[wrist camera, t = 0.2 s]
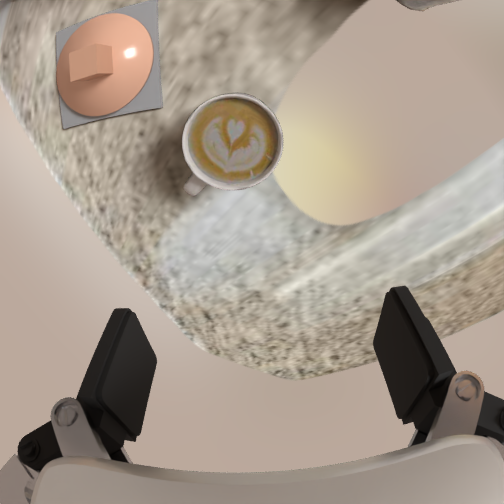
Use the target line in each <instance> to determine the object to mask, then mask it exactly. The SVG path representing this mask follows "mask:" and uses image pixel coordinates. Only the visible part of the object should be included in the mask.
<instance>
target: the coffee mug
mask: <svg viewBox="0 0 504 504" xmlns="http://www.w3.org/2000/svg"><path fill="white" fill-rule="evenodd" d="M182 149H183V154H184V157H185V160H186V162H187V164H188V166H189V168H190V169H191V170H192V172H193V173H192V174H191V176H190V177H189V178H188V180H187V181H186V183H185V184H184V190H185V191H186V192H187V193H188V194H189V195H192V196H195V195H197V194H198V193H199V192H200V191H201V190H202V189H203V188H204V187H205V186H206V184H208V185H210V186H213V187H215V188H218V189H223V190H242V189H246V188H250V187H253V186H255V185H257V184H259V183H260V182H262V181H263V180H265V179H266V178H267V177H268V176H269V175H270V174H271V173H272V172H273V170H274V169H275V168H276V166H277V164H278V162H279V160H280V158H281V155H282V150H283V133H282V129H281V126H280V123H279V121H278V120H277V117H276V116H275V114H274V113H273V112H272V111H271V110H270V109H269V108H268V107H267V106H266V105H265V104H264V103H263V102H262V101H261V100H259V99H258V98H256V97H254V96H252V95H249V94H245V93H228V94H223V95H219V96H216V97H213V98H211V99H209V100H207V101H205V102H204V103H202V104H201V105H200V106H198V107H197V108H196V109H195V110H194V112H193V113H192V114H191V115H190V117H189V119H188V120H187V122H186V125H185V127H184V130H183V136H182Z"/></svg>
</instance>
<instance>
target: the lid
mask: <svg viewBox="0 0 504 504" xmlns="http://www.w3.org/2000/svg"><path fill="white" fill-rule="evenodd" d="M153 61H154V47H153V42H152V38H151V36H150V34H149V32H148V30H147V29H146V28H145V26H144V25H143V24H142V23H140V22H139V21H138V20H136V19H134V18H132V17H130V16H128V15H124V14H119V13H110V14H104V15H100V16H97V17H95V18H93V19H91V20H89V21H87V22H86V23H84V24H83V25H81V26H80V27H79V28H78V29H77V30H76V31H75V32H74V33H73V34H72V35H71V36H70V38H69V39H68V40H67V42H66V44H65V45H64V47H63V49H62V51H61V54H60V57H59V60H58V64H57V72H56V79H57V86H58V89H59V92H60V95H61V97H62V98H63V100H64V101H65V103H66V104H67V105H68V106H69V107H70V108H71V109H73V110H74V111H76V112H78V113H80V114H83V115H86V116H101V115H106V114H109V113H113V112H115V111H117V110H120V109H121V108H123V107H125V106H126V105H127V104H129V103H130V102H131V101H132V100H133V99H134V98H135V97H136V96H137V95H138V94H139V93H140V92H141V90H142V89H143V87H144V86H145V84H146V82H147V80H148V78H149V76H150V73H151V70H152V66H153Z"/></svg>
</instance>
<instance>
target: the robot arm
mask: <svg viewBox="0 0 504 504" xmlns="http://www.w3.org/2000/svg"><path fill="white" fill-rule="evenodd" d="M373 346H374V350H375V352H376V355H377V358H378V361H379V363H380V366H381V369H382V372H383V375H384V378H385V381H386V384H387V387H388V390H389V392H390V396H391V398H392V402H393V405H394V408H395V411H396V415H397V417H398V418H399V419H402V421H403V424H408V423H411V422H414V425H415V428H416V430H415V432H414V434H413V437H412V439H411V441H410V443H409V445H408V447H407V448H404V449H401V450H397V451H393V452H390V453H386V454H382V455H377V456H374V457H369V458H365V459H360V460H356V461H351V462H346V463H340V464H335V465H329V466H322V467H316V468H308V469H298V470H289V471H277V472H258V473H257V472H256V473H215V472H197V471H183V470H174V469H165V468H158V467H151V466H144V465H137V464H133V463H132V461H131V460H130V458H129V456H128V454H127V452H126V451H125V449H124V447H123V445H124V440H128V441H134V442H135V441H136V437H137V436H139V435H140V433H141V430H142V425H143V420H144V416H145V411H146V407H147V402H148V398H149V393H150V389H151V385H152V381H153V377H154V372H155V369H156V364H157V358H156V355H155V353H154V351H153V349H152V347H151V345H150V343H149V341H148V339H147V337H146V335H145V333H144V331H143V329H142V327H141V325H140V322H139V320H138V318H137V316H136V314H135V313H134V312H132V311H131V310H130V309H129V308H118V309H114V311H113V313H112V315H111V317H110V319H109V321H108V323H107V325H106V328H105V330H104V332H103V334H102V337H101V339H100V341H99V343H98V346H97V348H96V350H95V352H94V355H93V357H92V360H91V362H90V364H89V367H88V369H87V372H86V374H85V377H84V379H83V382H82V385H81V387H80V390H79V392H78V395H77V398H76V399H74V398H71V397H70V398H69V397H68V398H63V399H61V400H60V401H58V402H57V403H56V404H55V405H54V407H53V409H52V411H51V421H49V422H47V423H46V424H44V425H42V426H41V427H39V428H37V429H36V430H34V431H32V432H31V433H29V434H27V435H26V436H24V437H23V438H22V439H21V441H20V442H19V445H18V455H16V454H14V455H13V456H12V457H11V458H10V460H9V461H8V462H7V463H6V464H5V465H4V466H3V468H2V469H1V470H0V503H1V504H504V400H503V399H501V398H498V397H496V396H494V395H491V394H489V393H487V392H485V391H484V385H483V382H482V380H481V378H480V377H479V376H478V375H477V374H475V373H473V372H471V371H461V372H458V373H457V372H456V370H455V368H454V366H453V364H452V362H451V360H450V358H449V356H448V354H447V352H446V350H445V349H444V347H443V345H442V343H441V341H440V339H439V337H438V335H437V334H436V332H435V330H434V328H433V327H432V325H431V323H430V321H429V320H428V319H427V318H426V317H425V316H424V314H423V313H422V311H421V309H420V307H419V306H418V304H417V302H416V301H415V299H414V297H413V296H412V294H411V293H410V291H409V289H408V288H407V287H406V286H400V287H393V288H391V289H390V291H389V292H387V293H386V295H385V299H384V303H383V307H382V311H381V315H380V319H379V322H378V326H377V329H376V333H375V336H374V340H373Z"/></svg>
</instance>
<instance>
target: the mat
mask: <svg viewBox="0 0 504 504" xmlns="http://www.w3.org/2000/svg"><path fill="white" fill-rule="evenodd" d="M110 13H119V14H124V15H128V16H130V17H132V18H134V19H136V20H138V21H139V22H140V23H142V24H143V25H144V26H145V28H146V29H147V30H148V32H149V34H150V36H151V38H152V42H153V47H154V61H153V66H152V70H151V73H150V76H149V78H148V80H147V82H146V84H145V86H144V87H143V89H142V90H141V92H140V93H139V94H138V95H137V96H136V97H135V98H134V99H133V100H132V101H131V102H130V103H129V104H127V105H126V106H125V107H123V108H121V109H120V110H117V111H115V112H113V113H109V114H106V115H101V116H86V115H83V114H80V113H78V112H76V111H74V110H73V109H71V108H70V107H69V106H68V105H67V104H66V103H65V101H64V100H63V98H62V97H61V95H60V92H59V100H60V109H61V117H62V124H63V129H66V128H69V127H73V126H76V125H80V124H84V123H87V122H91V121H95V120H99V119H104V118H108V117H113V116H117V115H122V114H127V113H132V112H137V111H143V110H149V109H155V108H161V107H163V102H162V89H161V76H160V59H159V37H158V0H149V1H145V2H141V3H137V4H133V5H130V6H126V7H123V8H119V9H116V10H113V11H110V12H107V13H104V14H110ZM104 14H101V15H104ZM98 16H100V15H98ZM95 17H97V16H95ZM95 17H92V18H90V19H87V20H84V21H82V22H79V23H77V24H74V25H72V26H70V27H67V28H65V29H63V30H61V31H58V32H56V58H57V64H58V60H59V57H60V54H61V51H62V49H63V47H64V45H65V44H66V42H67V40H68V39H69V38H70V36H71V35H72V34H73V33H74V32H75V31H76V30H77V29H78V28H79V27H80V26H81V25H83V24H84V23H86V22H87V21H89V20H91V19H93V18H95ZM58 90H59V89H58Z"/></svg>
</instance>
